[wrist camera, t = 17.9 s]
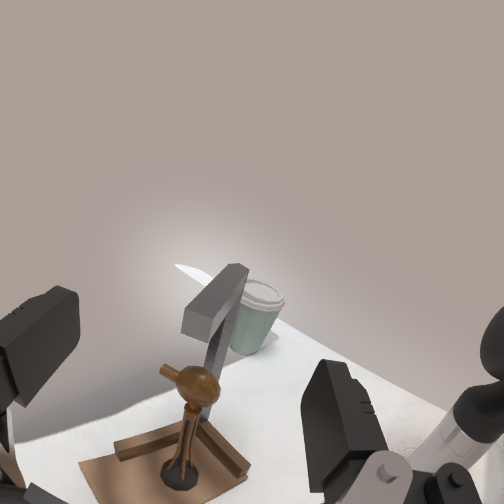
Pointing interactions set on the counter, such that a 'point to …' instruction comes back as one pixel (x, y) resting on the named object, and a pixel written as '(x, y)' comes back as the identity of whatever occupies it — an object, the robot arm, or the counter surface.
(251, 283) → the disposable coffee cup
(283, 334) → the counter surface
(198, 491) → the stand
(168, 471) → the wooden tabletop sculpture
